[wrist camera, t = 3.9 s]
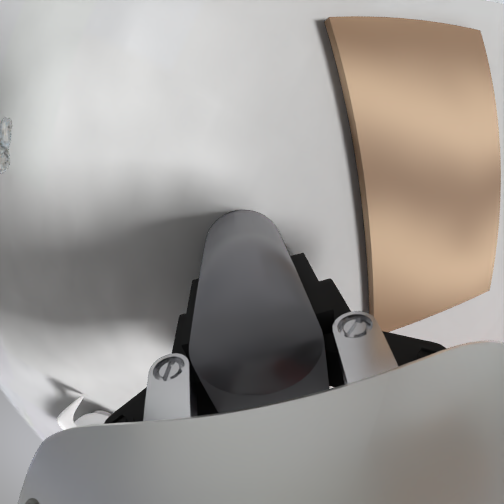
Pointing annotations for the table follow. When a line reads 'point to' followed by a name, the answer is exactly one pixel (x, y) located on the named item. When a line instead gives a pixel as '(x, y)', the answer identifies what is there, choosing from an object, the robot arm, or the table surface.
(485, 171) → the wood pad
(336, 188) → the table surface
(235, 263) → the connector
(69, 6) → the table surface
